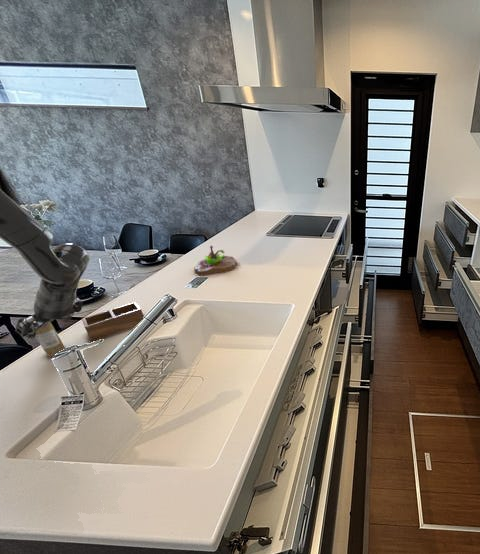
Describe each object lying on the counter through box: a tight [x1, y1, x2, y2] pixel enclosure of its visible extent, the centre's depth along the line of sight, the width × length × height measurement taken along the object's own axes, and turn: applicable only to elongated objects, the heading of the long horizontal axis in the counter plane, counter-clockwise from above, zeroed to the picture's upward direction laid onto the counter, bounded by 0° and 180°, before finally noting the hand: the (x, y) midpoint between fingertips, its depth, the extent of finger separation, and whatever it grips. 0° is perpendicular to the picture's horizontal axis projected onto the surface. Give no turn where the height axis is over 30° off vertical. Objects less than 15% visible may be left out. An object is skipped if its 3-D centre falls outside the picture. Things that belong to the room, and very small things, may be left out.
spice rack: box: [81, 301, 145, 343], centre depth 106 cm, size 8×15×6 cm, turn 137°
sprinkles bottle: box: [25, 315, 67, 358], centre depth 93 cm, size 5×5×14 cm
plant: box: [193, 245, 238, 276], centre depth 156 cm, size 20×20×11 cm
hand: (48, 327), depth 91 cm, fingers open, 8 cm apart
